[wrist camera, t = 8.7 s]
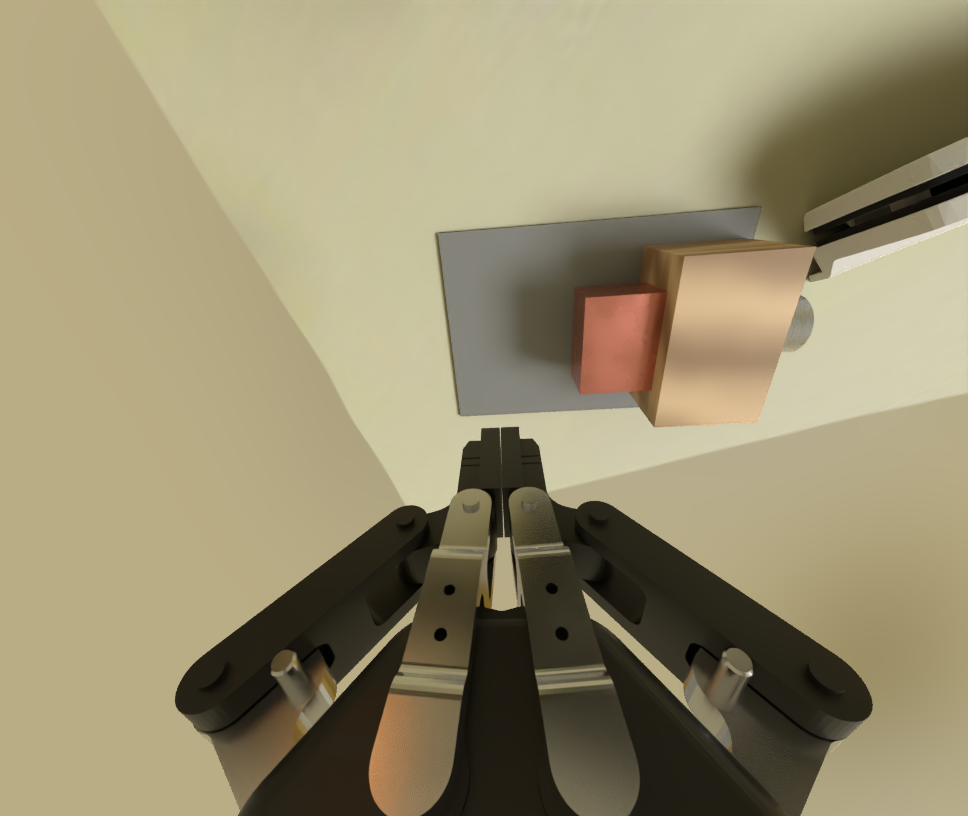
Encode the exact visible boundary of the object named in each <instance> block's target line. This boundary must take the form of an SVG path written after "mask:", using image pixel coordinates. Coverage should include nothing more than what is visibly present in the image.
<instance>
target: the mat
mask: <svg viewBox="0 0 968 816" xmlns="http://www.w3.org/2000/svg"><path fill="white" fill-rule="evenodd" d="M760 211H761V207H751V208H739V209H727V210H715V211H703V212H691V213H679V214H667V215H654V216H642V217H630V218H618V219H606V220H594V221H582V222H570V223H558V224H545V225H533V226H521V227H509V228H497V229H485V230H473V231H461V232H449V233H438V238H439V246H440V254H441V263H442V271H443V279H444V287H445V295H446V303H447V311H448V320H449V328H450V336H451V344H452V352H453V360H454V368H455V376H456V385H457V393H458V401H459V409H460V416H478V415H497V414H516V413H535V412H555V411H574V410H593V409H612V408H632V407H639V406H638V405H637V403H636V402H635V400H634V399H633V398H632V396H631V395H630V394H629V392H617V393H598V394H579V391H578V389H577V387H576V385H575V383H574V380H573V378H572V376H571V357H572V334H573V311H574V288H575V287H583V286H597V285H611V284H625V283H638V282H639V280H640V272H641V264H642V256H643V248H644V246H656V245H669V244H681V243H694V242H707V241H720V240H733V239H754V235H755V231H756V227H757V223H758V219H759V215H760Z"/></svg>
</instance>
